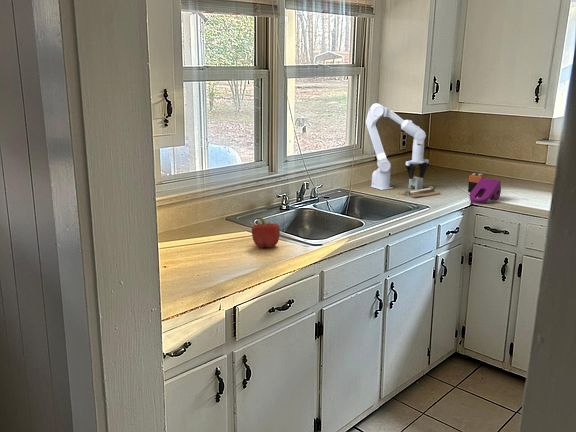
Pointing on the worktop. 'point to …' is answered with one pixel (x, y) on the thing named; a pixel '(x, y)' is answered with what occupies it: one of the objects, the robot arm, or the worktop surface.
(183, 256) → the worktop surface
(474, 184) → the battery
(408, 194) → the rail mount
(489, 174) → the worktop surface
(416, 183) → the block
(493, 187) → the mounting bracket
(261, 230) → the vegetable
